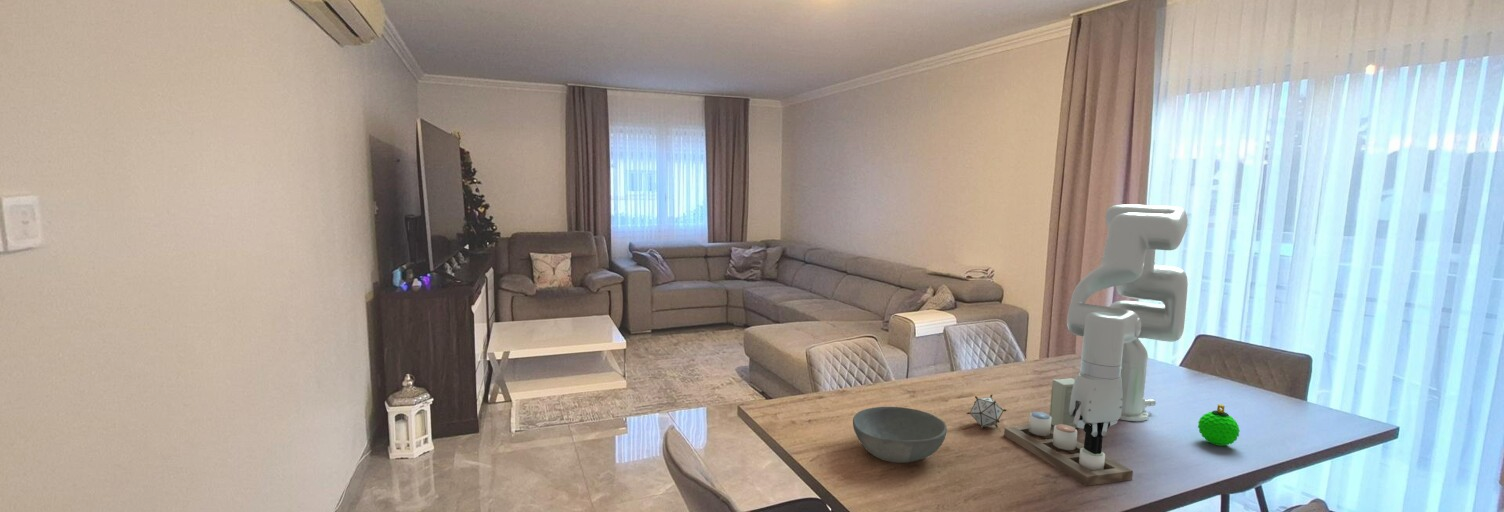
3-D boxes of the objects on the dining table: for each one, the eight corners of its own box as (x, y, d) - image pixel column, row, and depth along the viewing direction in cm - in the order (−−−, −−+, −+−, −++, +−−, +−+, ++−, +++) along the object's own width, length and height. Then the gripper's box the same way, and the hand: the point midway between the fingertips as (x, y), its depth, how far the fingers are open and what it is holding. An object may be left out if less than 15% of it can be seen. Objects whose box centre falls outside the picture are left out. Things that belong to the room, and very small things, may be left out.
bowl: (929, 486, 125) (931, 449, 124) (835, 460, 136) (837, 426, 135) (954, 449, 143) (956, 417, 142) (870, 429, 154) (872, 398, 153)
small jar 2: (1064, 440, 144) (1066, 422, 143) (1080, 449, 139) (1082, 431, 139) (1047, 442, 143) (1049, 424, 142) (1063, 450, 138) (1064, 432, 137)
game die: (991, 442, 156) (1011, 422, 150) (960, 428, 158) (977, 407, 151) (994, 416, 163) (1012, 395, 156) (964, 402, 164) (981, 381, 158)
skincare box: (1068, 421, 162) (1072, 377, 161) (1080, 428, 158) (1084, 383, 156) (1047, 423, 161) (1051, 378, 159) (1059, 430, 156) (1063, 384, 155)
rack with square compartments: (1044, 431, 155) (1044, 423, 155) (1132, 479, 130) (1133, 470, 130) (1004, 435, 152) (1004, 427, 152) (1086, 485, 127) (1087, 476, 127)
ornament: (1188, 440, 152) (1193, 401, 151) (1208, 435, 155) (1213, 397, 154) (1224, 453, 145) (1229, 413, 143) (1245, 448, 148) (1250, 409, 147)
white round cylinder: (1091, 463, 136) (1092, 445, 136) (1108, 473, 132) (1110, 454, 131) (1073, 465, 135) (1075, 447, 135) (1090, 475, 131) (1092, 456, 130)
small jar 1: (1040, 427, 151) (1041, 410, 151) (1054, 434, 147) (1056, 417, 146) (1024, 428, 150) (1025, 412, 150) (1038, 436, 146) (1039, 419, 145)
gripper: (1113, 363, 136) (1105, 441, 138) (1058, 366, 132) (1051, 447, 134) (1143, 373, 129) (1134, 455, 131) (1085, 377, 125) (1077, 462, 127)
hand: (1092, 451), depth 133 cm, fingers closed
